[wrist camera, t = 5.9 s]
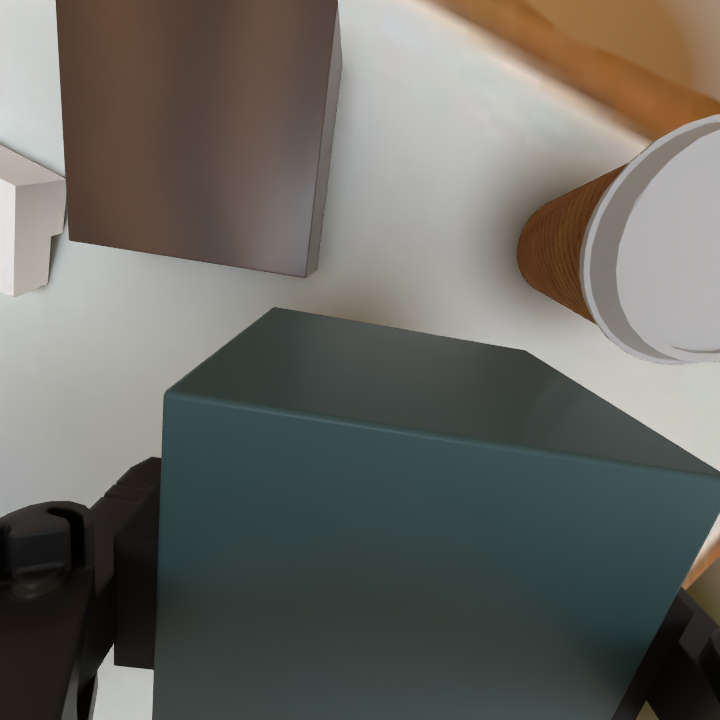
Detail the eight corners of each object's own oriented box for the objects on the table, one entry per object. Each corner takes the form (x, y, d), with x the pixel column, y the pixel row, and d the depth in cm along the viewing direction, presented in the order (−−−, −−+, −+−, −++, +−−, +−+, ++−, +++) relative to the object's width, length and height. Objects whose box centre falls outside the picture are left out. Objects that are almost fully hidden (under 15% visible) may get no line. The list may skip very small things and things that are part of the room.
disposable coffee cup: (556, 136, 24) (745, 34, 12) (668, 223, 25) (929, 207, 14) (463, 271, 26) (549, 292, 14) (571, 343, 27) (726, 415, 16)
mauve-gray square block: (134, 241, 25) (68, 240, 19) (132, 21, 22) (51, -59, 16) (316, 270, 26) (305, 278, 20) (342, 61, 22) (337, -2, 17)
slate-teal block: (247, 524, 14) (147, 788, 7) (273, 306, 12) (161, 390, 5) (463, 554, 14) (557, 826, 8) (527, 350, 12) (740, 481, 5)
